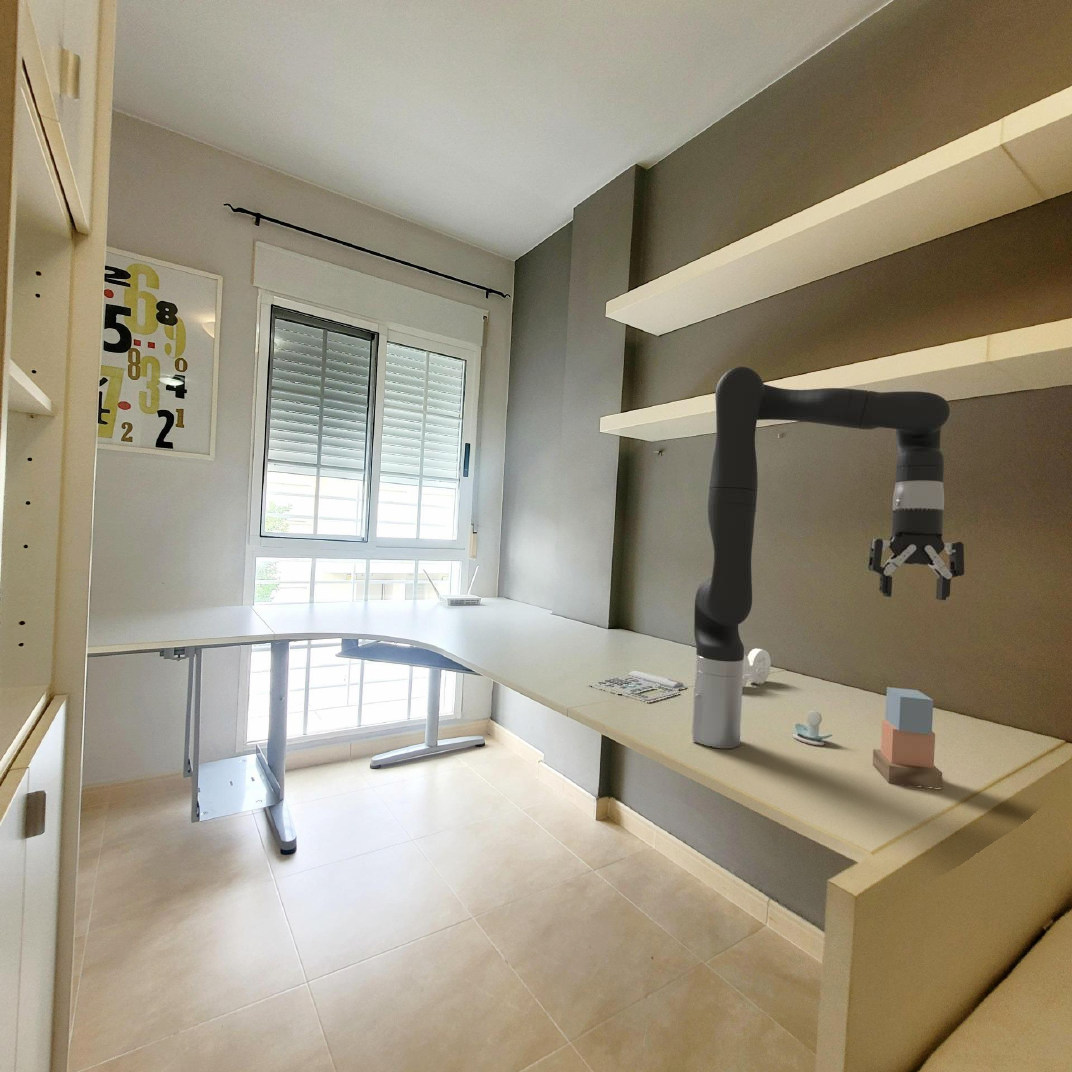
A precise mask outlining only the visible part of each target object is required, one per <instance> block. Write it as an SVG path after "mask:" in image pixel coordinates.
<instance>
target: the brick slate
mask: <svg viewBox="0 0 1072 1072" xmlns="http://www.w3.org/2000/svg"><path fill="white" fill-rule="evenodd" d="M885 698H886V699H885V700H886V701H885V718H884V720H887V721H888V722H889V723H890V724H892V725H893V726H894V727H895V728H896V729H897V730H899V731H905V732H913V733H921V734H930V735H932V732H933V718H934V717H933V716H934V699H932V698H931V697H929V696H928V695H926V694H925V693H923V692H921V691H920V690H918V689H909V688H899V687H892V686H890V687H889V686H887V687H886V697H885Z"/></svg>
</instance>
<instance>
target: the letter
mask: <svg viewBox="0 0 1072 1072" xmlns="http://www.w3.org/2000/svg"><path fill="white" fill-rule="evenodd" d="M771 662H772V661H771V656H770V654H769V652H768V651H767V650H765V649H762V648H753V649H751V651H750V652H749V653H748V655H746V654H745V653H744V665H743V688H744V687H745V686H746V685H747V683H748V682H750V683H752V684H756V685H760V684H759V683H762V684H764V683H765V682H766V681H767V679H768V677H769V675H770V672H771Z"/></svg>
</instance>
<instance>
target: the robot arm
mask: <svg viewBox="0 0 1072 1072" xmlns="http://www.w3.org/2000/svg"><path fill="white" fill-rule="evenodd" d="M714 395H715V399H714V400H715V411H716V412H715V413H716V415H715V416H716V417H715V418H716V419H715V420H716V422H715V423H716V425H715V426H716V430H715V433H716V435H715V444H714V449H713V450H714V451H713V457H712V463H711V470H710V478H709V487H708V489H709V490H708V499H707V517H708V524H709V525H708V527H709V530H710V535H711V539H712V546H713V565H712V572H711V573H712V574H711V578H707V579H706V580H703V582H702V583H701V584H700V585H699V587H698V588H697V590H696V594H695V597H694V598H695V599H694V619H693V622H694V623H693V624H694V625H693V628H694V629H693V631H694V632H693V633H694V640H695V644H696V645H695V646H696V652H695V654H696V655H695V656H696V657H695V674H694V676H695V679H694V688H693V702H692V703H693V706H692V708H693V709H692V723H691V726H692V727H691V728H692V729H691V735H692V736H693V737H692V736H691V737H692V742H693V741H694V742H693V743H697V742H698V744H701V745H703V744H704V746H706V747H707V746H708V747H710V746H712V747H711V748H717V749H735V748H738V747H739V746H740V744H741V730H742V729H741V726H742V725H741V724H742V709H743V708H742V707H743V706H742V704H743V688H744V687H743V665H744V654H745V646H744V643H743V642H742V640H741V636H740V632H739V625H740V624H742V623H743V622H745V620H746V619H747V618H748V617H749V615H750V612H751V610H752V607H753V583H752V578H753V577H752V552H753V545H754V543H753V542H754V529H755V519H756V511H757V500H758V486H759V485H758V482H759V481H758V463H757V453H756V452H757V451H756V432H757V429H756V428H757V423H758V422H757V421H771V420H772V421H774V420H775V421H792V422H793V421H794V422H803V423H804V422H805V423H812V424H819V425H825V426H826V425H827V426H832V427H833V426H835V427H840V428H841V427H842V428H850V429H859V430H875V429H878V428H881V429H882V428H883V429H892V430H893V429H894V430H895V438H896V453H897V457H896V467H895V469H896V470H895V484H894V485H895V486H894V490H893V495H892V496H893V497H892V519H891V536H890V539H888V540H887V539H881V538H872V540H871V541H870V549H869V557H868V565H867V570H869V571H871V572H874V573H876V574H878V575H879V589H878V590H879V592H880V594H882V596H883V597H884V598H885V597H886V598H891V597H892V592H893V591H892V590H893V589H892V588H893V576H891V574H892V573H893V572H894V571H895V570H896V569H897V568H899V567H900V566H902V565H903V564H906V565H922V566H926V565H927V566H928V567H929V568H930V569H932V570H933V572H934V573H935V574H936V575H937V577H938V578H936V590H935V592H936V593H935V599H936V600H939V601H946V600H947V598H949V597H950V595H951V581H952V579H954V578H956V577H963V576H964V574H965V557H964V556H965V553H964V552H965V549H964V543H963V542H962V541H951V542H944V541H943V540H944V539H943V530H944V529H943V528H944V512H945V510H944V508H945V491H944V467H945V466H944V465H945V462H944V461H945V460H944V454H943V453H942V452H941V431H942V427H943V425H945V424H946V422H947V421H948V419H949V417H950V413H951V407H950V405H949V402H948V401H947V400H946V399H945V398H944V397H942V396H941V395H939V394H936V393H932V392H927V391H914V390H913V391H912V390H911V391H909V390H907V391H885V392H882V391H880V392H879V391H873V390H865V389H858V388H857V389H855V388H843V387H827V388H813V389H812V388H811V389H790V388H789V389H788V388H782V387H778V386H777V387H776V386H773V385H772V386H771V385H768V384H764V381H763V380H762V377H761V376H760V374H759V373H757V372H756V371H755V370H754V369H752V368H749V367H747V366H736V367H735V366H734V368H731V369H728V371H726V372H725V373H724V374H722V376H721V378H719V380H718V382H717V384H716V387H715V394H714ZM887 547H888V548H889V550H891V552H892V553H893V554H891V556H890V557H889V558H888V559H887V560H886V562H885V563H884V564H883V566H881V565H882V558H883V557H882V555H883V552H885V550H886V549H887ZM944 550H945V553H946V554H947V555H948V561H949V562H948V563H949V566H948V567H949V569H948V567H947V566H946V563H945V562H944V560H942V558H941V556H939V555H940V554H941V553H942V551H944ZM742 687H743V688H742ZM737 746H738V747H737Z"/></svg>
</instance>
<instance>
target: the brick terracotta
mask: <svg viewBox="0 0 1072 1072" xmlns="http://www.w3.org/2000/svg"><path fill="white" fill-rule="evenodd" d="M881 723H882V724H881V742H880V745H881V746H880V750H881V753H882V754H883V755H884V756H885V757H886V758H887V759H888V760H889V761H890V762H891V763H896V764H904V765H912V766H920V767H928V768H934V766H935V749H936V733H935V732H933V731H932V735H930V734H921V733H913V732H905V731H899V730H897V729H896V728H895V727H894V726H893V725H892V724H890V723H889V722H888V721H887V720H886V719H883V720H882V721H881Z"/></svg>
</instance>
